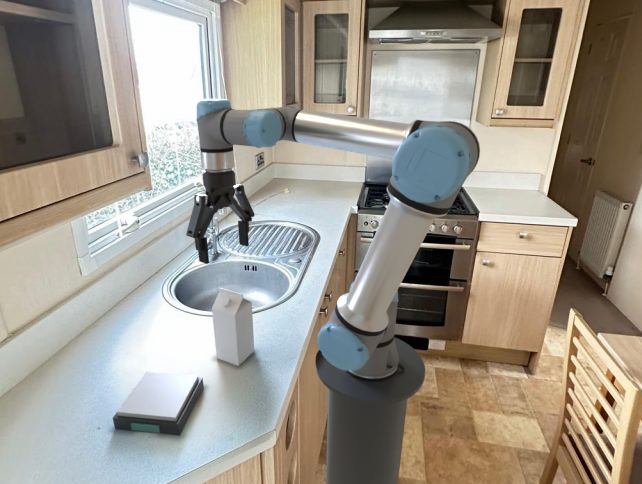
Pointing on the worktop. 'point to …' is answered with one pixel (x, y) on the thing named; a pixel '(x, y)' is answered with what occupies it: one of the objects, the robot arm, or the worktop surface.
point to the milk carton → (233, 327)
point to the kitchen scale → (159, 403)
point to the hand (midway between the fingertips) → (225, 253)
